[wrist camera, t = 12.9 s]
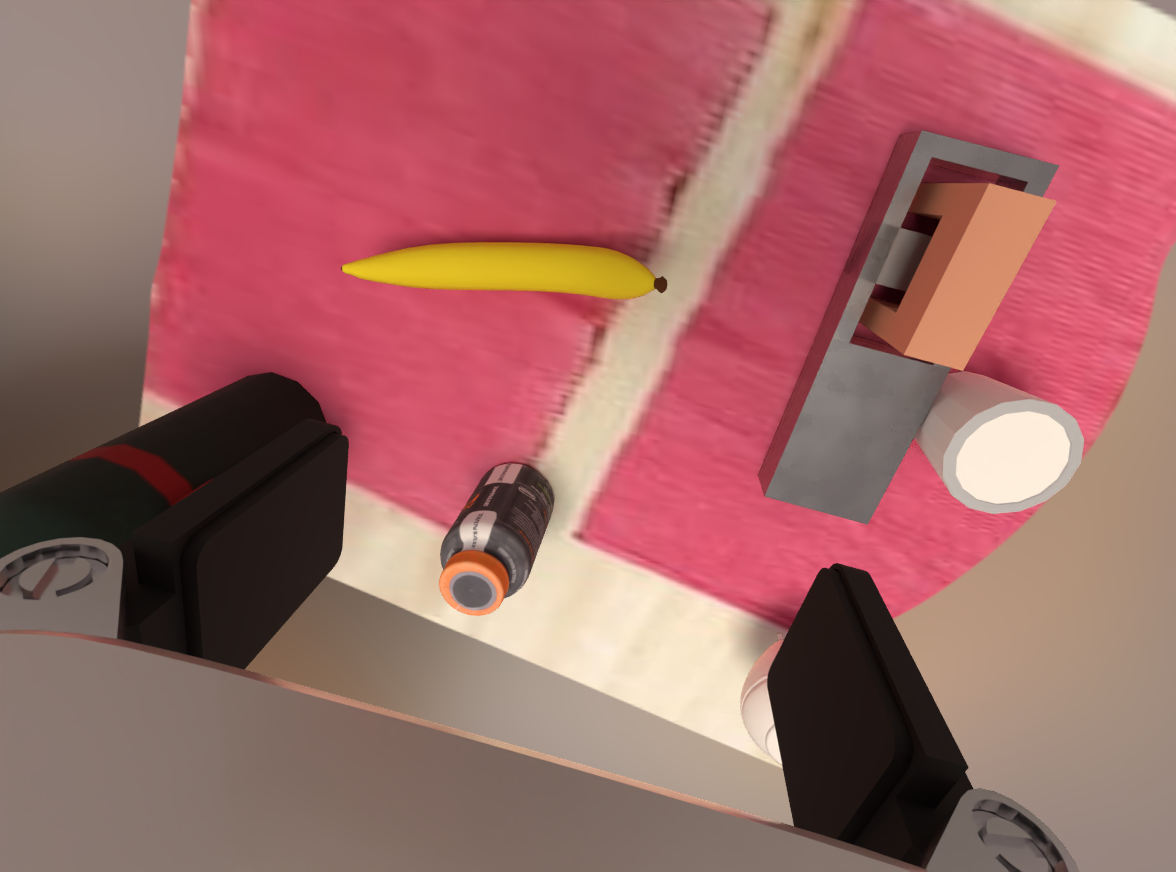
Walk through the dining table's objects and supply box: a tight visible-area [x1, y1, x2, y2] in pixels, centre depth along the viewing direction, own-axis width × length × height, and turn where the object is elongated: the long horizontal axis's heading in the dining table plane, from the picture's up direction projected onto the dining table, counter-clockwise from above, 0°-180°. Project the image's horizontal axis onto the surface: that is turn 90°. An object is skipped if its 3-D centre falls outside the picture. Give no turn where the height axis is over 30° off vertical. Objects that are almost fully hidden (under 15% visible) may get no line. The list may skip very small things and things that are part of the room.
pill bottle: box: [439, 463, 554, 616], centre depth 39 cm, size 6×6×11 cm
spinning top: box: [741, 633, 784, 765], centre depth 41 cm, size 8×8×12 cm
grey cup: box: [914, 371, 1084, 514], centre depth 34 cm, size 7×7×7 cm
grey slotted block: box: [758, 130, 1059, 524], centre depth 35 cm, size 22×7×3 cm, turn 167°
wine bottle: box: [0, 372, 326, 559], centre depth 30 cm, size 8×10×30 cm
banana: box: [341, 242, 667, 299], centre depth 34 cm, size 3×19×6 cm, turn 89°
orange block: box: [859, 183, 1057, 371], centre depth 30 cm, size 8×3×8 cm, turn 166°
